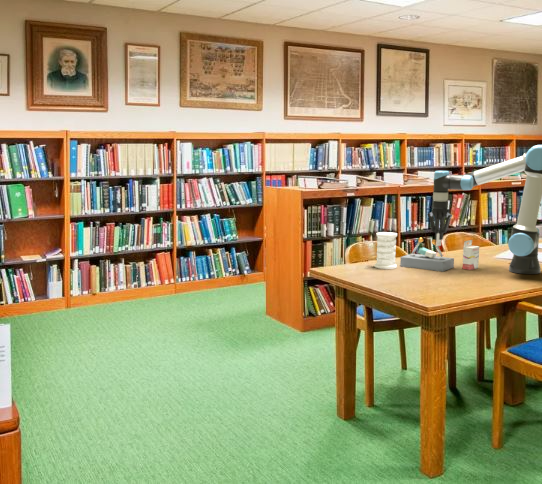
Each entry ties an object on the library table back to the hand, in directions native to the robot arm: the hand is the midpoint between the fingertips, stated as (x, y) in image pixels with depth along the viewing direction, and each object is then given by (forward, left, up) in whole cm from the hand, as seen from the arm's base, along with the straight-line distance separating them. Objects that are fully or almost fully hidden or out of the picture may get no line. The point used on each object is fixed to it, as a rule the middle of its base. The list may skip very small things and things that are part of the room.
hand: (438, 245), depth 337 cm
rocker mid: (+6, 0, -6) cm, 9 cm away
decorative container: (+23, +14, -12) cm, 30 cm away
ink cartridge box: (-14, -10, -12) cm, 21 cm away
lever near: (-2, 0, -6) cm, 6 cm away
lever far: (+15, 0, -6) cm, 16 cm away
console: (+6, 0, -12) cm, 14 cm away
